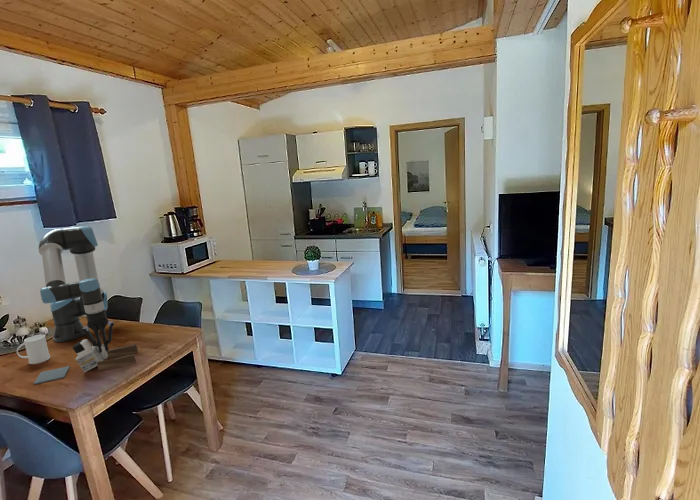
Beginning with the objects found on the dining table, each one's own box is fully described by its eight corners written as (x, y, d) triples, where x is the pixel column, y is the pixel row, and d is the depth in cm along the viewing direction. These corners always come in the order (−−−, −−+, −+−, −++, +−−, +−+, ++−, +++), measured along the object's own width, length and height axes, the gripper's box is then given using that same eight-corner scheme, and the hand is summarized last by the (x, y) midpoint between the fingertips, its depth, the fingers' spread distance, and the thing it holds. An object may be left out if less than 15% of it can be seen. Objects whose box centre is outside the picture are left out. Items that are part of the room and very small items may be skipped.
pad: (41, 373, 173) (41, 372, 173) (69, 367, 178) (69, 365, 178) (33, 384, 163) (33, 383, 163) (64, 377, 168) (63, 376, 168)
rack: (103, 358, 185) (102, 351, 184) (137, 351, 191) (136, 343, 190) (98, 371, 172) (97, 363, 171) (135, 362, 178) (134, 355, 178)
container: (84, 372, 172) (67, 350, 168) (89, 364, 179) (73, 343, 175) (101, 363, 174) (85, 341, 170) (105, 356, 181) (90, 335, 177)
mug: (19, 368, 179) (13, 345, 177) (21, 361, 186) (15, 339, 184) (50, 360, 186) (44, 338, 183) (51, 354, 193) (46, 332, 190)
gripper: (77, 316, 168) (88, 364, 172) (110, 310, 173) (120, 357, 178) (80, 312, 174) (91, 358, 179) (112, 306, 180) (122, 351, 184)
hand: (105, 357), depth 178 cm, fingers closed
